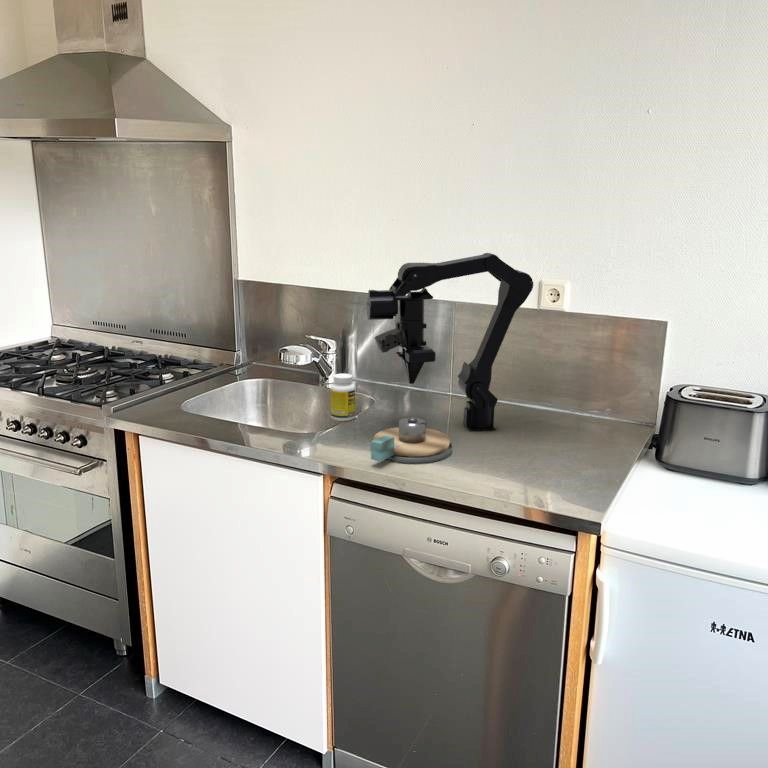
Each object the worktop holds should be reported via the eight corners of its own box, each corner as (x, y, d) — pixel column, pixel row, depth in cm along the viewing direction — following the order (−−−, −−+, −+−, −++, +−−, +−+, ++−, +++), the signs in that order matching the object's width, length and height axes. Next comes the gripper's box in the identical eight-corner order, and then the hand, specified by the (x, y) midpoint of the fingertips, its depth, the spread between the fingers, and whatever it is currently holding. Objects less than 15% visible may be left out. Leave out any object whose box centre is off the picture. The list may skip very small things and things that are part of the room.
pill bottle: (351, 422, 189) (352, 379, 186) (327, 420, 190) (327, 377, 187) (357, 415, 195) (358, 373, 192) (334, 413, 196) (334, 371, 193)
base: (439, 434, 181) (440, 429, 181) (461, 461, 164) (461, 456, 164) (365, 438, 178) (365, 433, 177) (379, 466, 161) (379, 460, 160)
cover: (408, 432, 174) (409, 412, 173) (430, 438, 171) (431, 417, 169) (393, 439, 169) (393, 419, 168) (415, 445, 166) (416, 424, 165)
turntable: (401, 426, 182) (401, 410, 181) (463, 440, 172) (464, 424, 171) (343, 451, 165) (343, 434, 164) (409, 469, 155) (409, 451, 154)
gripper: (368, 313, 184) (369, 375, 188) (387, 327, 166) (388, 396, 170) (413, 311, 186) (413, 372, 190) (436, 325, 169) (435, 393, 173)
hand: (411, 383), depth 181 cm, fingers closed
